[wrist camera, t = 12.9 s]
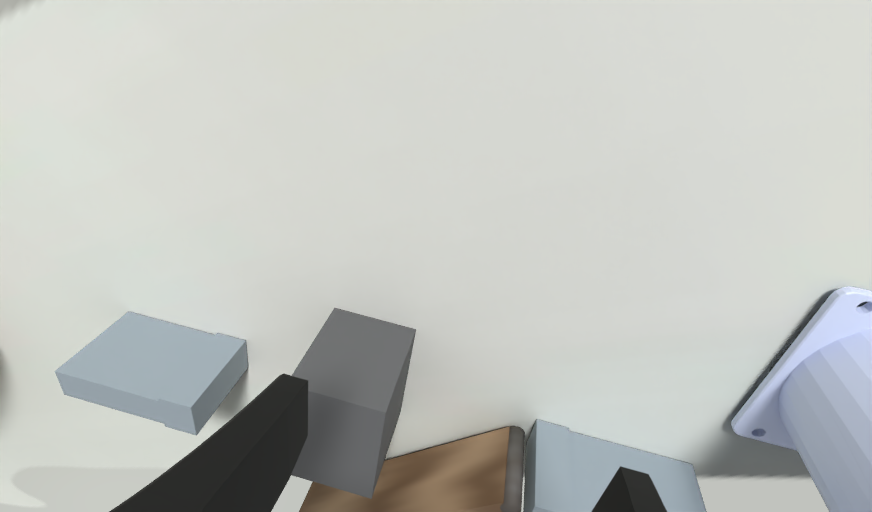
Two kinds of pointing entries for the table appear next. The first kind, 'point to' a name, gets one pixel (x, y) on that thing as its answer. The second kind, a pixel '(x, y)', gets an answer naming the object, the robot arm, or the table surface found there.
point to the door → (440, 479)
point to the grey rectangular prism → (352, 399)
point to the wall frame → (227, 361)
